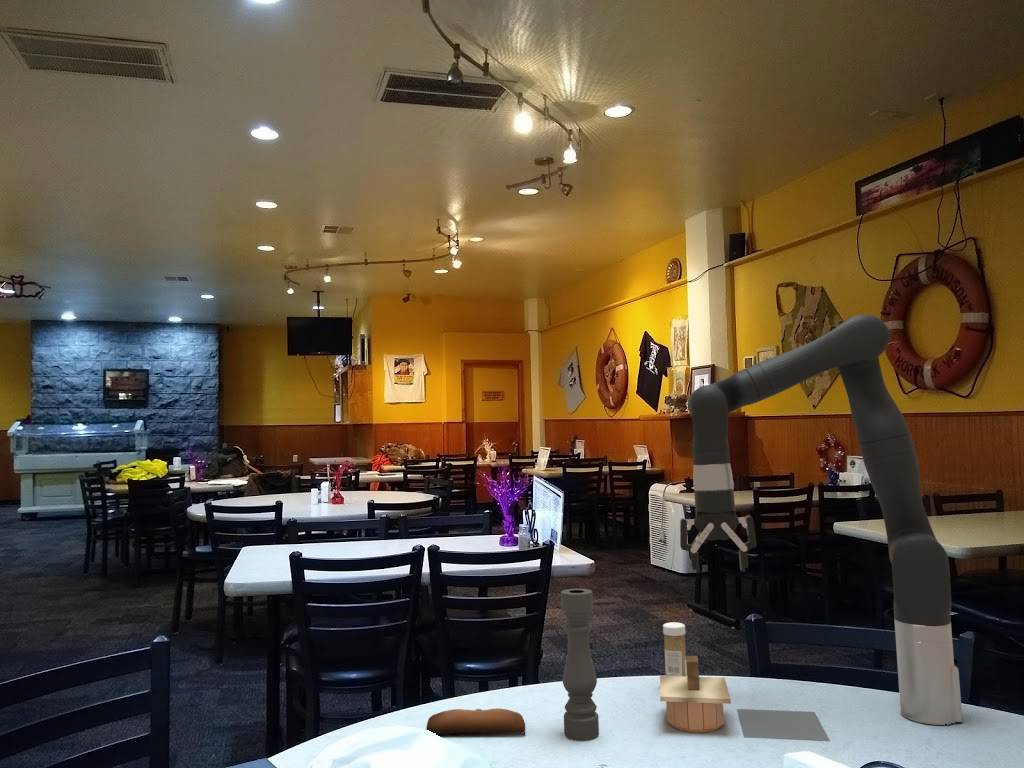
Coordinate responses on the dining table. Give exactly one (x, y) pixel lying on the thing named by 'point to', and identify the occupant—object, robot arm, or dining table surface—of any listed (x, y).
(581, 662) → the candle holder
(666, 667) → the sprinkles bottle
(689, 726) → the wooden bowl
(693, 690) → the birch cover
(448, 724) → the sunglasses case
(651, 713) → the dining table surface
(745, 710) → the rubber mat
